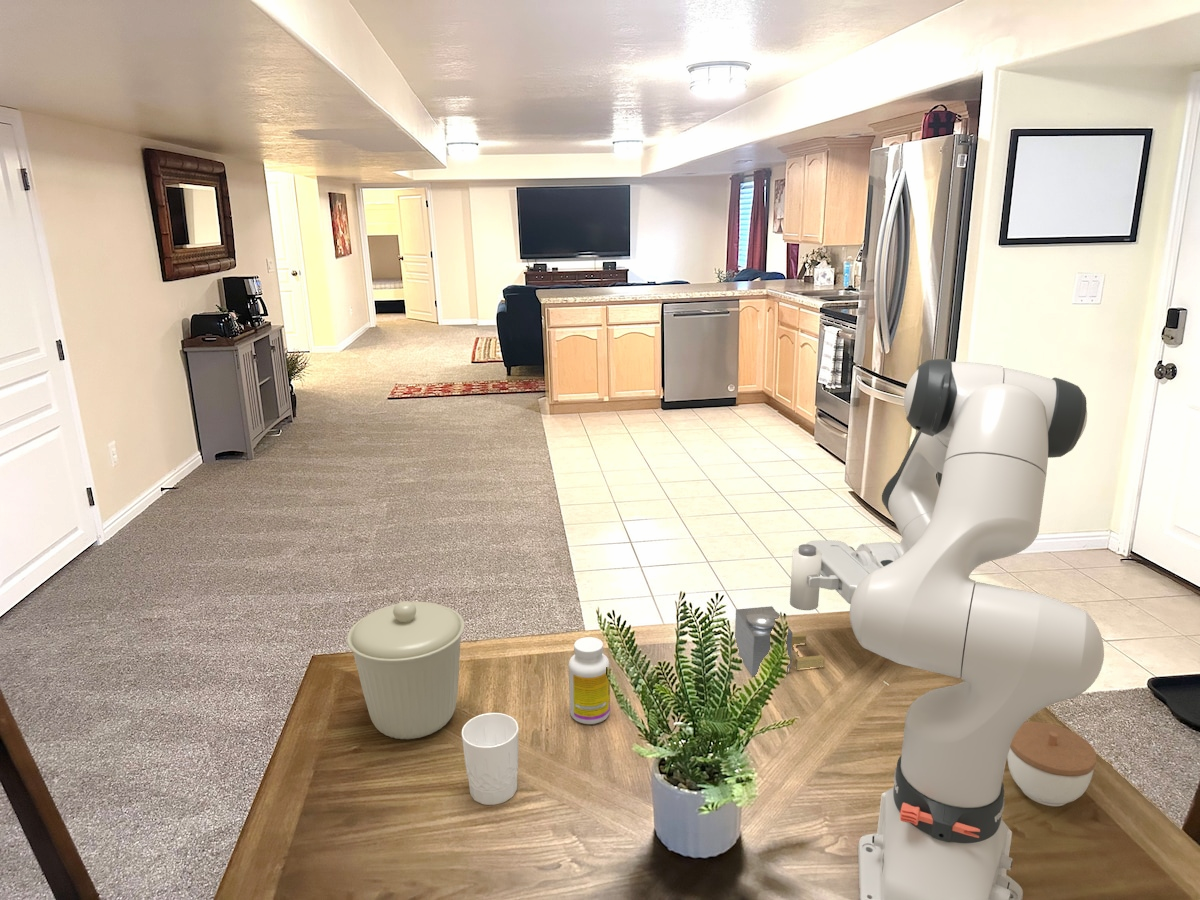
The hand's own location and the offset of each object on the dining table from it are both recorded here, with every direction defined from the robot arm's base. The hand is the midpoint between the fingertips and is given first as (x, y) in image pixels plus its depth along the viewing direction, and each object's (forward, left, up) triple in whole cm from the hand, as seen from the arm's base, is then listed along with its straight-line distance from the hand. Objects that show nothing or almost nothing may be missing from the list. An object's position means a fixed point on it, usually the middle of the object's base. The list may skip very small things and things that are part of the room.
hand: (801, 573), depth 143 cm
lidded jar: (-20, -40, -17) cm, 48 cm away
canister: (-46, +51, -17) cm, 71 cm away
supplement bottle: (-32, +26, -17) cm, 45 cm away
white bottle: (+1, -1, -6) cm, 6 cm away
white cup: (-54, +30, -17) cm, 64 cm away
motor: (-1, +4, -17) cm, 17 cm away
